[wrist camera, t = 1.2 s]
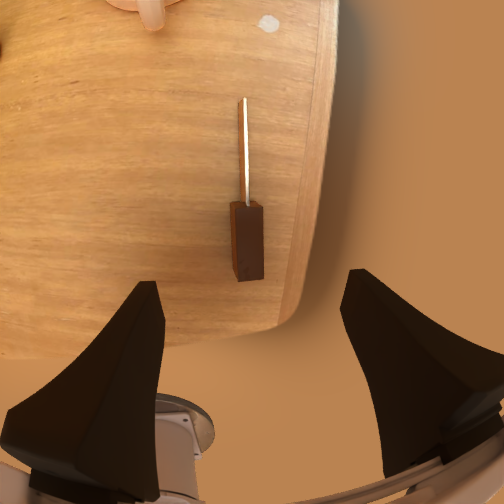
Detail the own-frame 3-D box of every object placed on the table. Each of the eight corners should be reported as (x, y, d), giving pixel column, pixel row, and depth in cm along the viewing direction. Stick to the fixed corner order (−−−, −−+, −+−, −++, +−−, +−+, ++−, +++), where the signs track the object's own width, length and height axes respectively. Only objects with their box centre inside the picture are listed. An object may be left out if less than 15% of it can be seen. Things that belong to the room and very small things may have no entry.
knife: (256, 266, 22) (264, 279, 20) (232, 268, 22) (237, 282, 20) (252, 102, 18) (260, 96, 16) (226, 103, 18) (231, 96, 16)
